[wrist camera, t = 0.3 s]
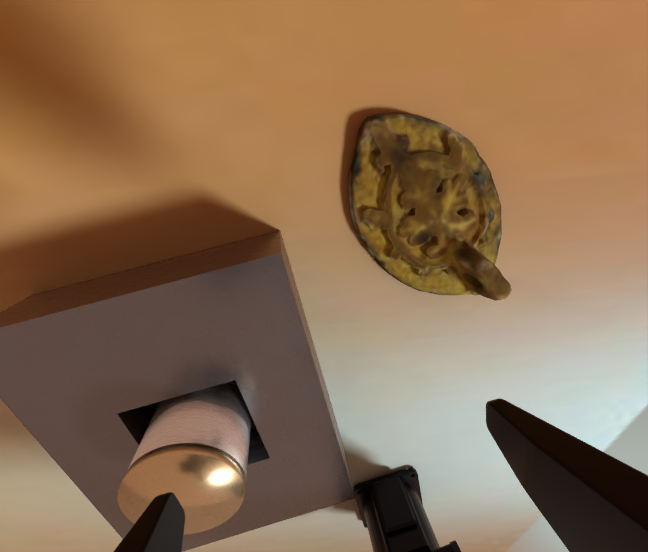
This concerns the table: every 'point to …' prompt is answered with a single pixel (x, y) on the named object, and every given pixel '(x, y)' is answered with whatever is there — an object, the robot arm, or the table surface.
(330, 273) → the table surface
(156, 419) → the end cover
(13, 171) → the table surface
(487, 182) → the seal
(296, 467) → the housing
